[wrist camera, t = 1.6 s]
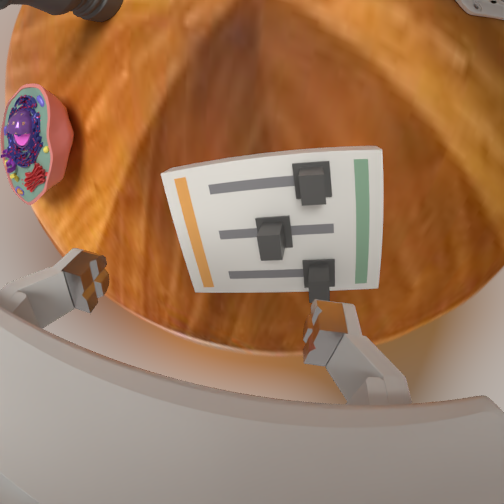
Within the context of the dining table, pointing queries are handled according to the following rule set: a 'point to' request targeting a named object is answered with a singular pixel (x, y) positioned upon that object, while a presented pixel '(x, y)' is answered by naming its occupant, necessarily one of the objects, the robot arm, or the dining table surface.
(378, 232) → the panel
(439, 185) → the dining table surface
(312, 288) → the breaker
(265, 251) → the breaker
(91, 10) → the candle holder
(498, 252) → the dining table surface
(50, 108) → the cell model
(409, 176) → the dining table surface
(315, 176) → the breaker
